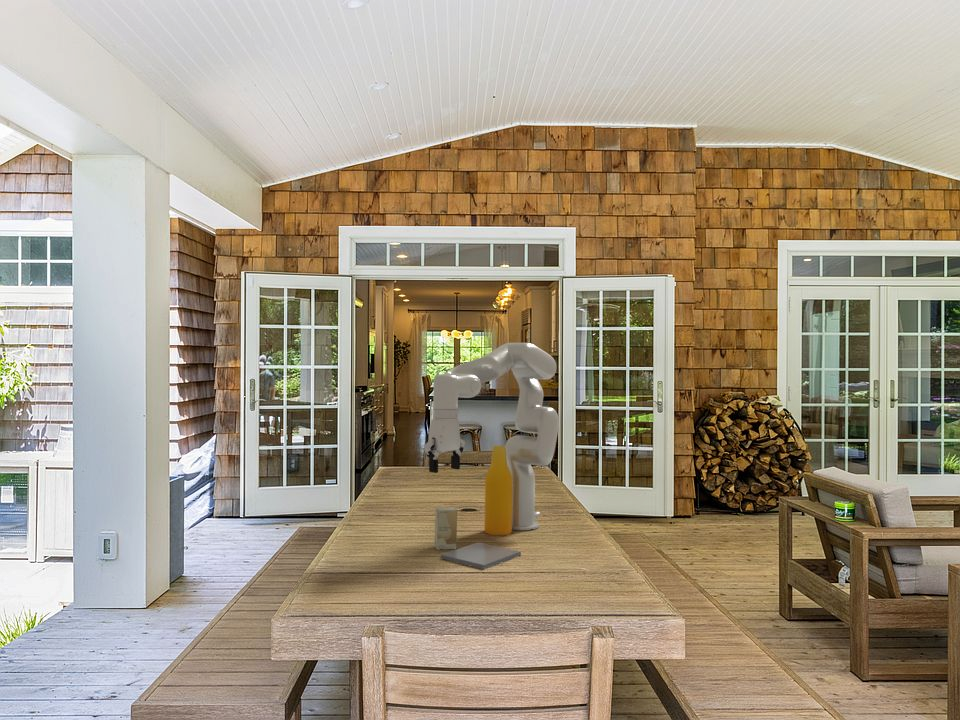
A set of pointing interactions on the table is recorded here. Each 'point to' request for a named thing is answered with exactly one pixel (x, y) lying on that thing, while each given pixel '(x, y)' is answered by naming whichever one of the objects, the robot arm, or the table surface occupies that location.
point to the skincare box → (445, 528)
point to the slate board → (480, 555)
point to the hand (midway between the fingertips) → (444, 470)
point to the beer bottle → (498, 494)
